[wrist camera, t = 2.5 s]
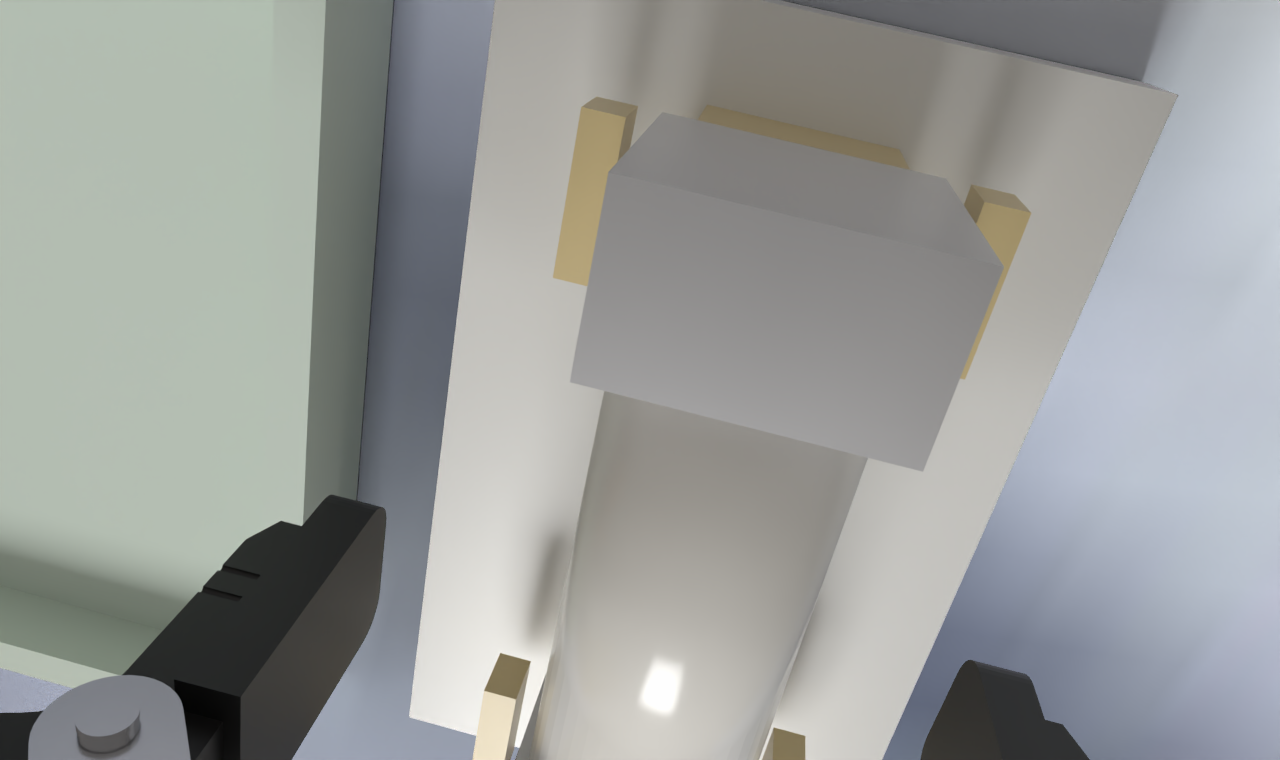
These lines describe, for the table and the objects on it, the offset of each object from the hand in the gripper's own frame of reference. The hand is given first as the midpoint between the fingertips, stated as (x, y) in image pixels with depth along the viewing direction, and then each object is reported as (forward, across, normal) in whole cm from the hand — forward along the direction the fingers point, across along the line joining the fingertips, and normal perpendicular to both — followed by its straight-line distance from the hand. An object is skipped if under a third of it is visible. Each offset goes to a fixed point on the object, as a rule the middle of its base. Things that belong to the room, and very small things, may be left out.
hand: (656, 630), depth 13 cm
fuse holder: (+6, 0, 0) cm, 6 cm away
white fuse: (+3, 0, 0) cm, 3 cm away
